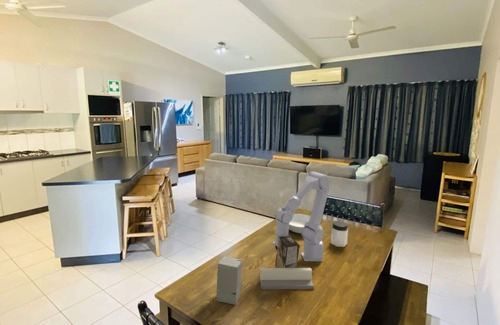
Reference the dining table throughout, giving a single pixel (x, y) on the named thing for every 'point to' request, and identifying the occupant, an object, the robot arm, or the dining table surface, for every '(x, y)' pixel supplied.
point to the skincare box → (229, 280)
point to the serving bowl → (298, 222)
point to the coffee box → (287, 252)
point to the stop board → (286, 278)
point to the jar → (339, 233)
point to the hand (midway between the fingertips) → (280, 260)
